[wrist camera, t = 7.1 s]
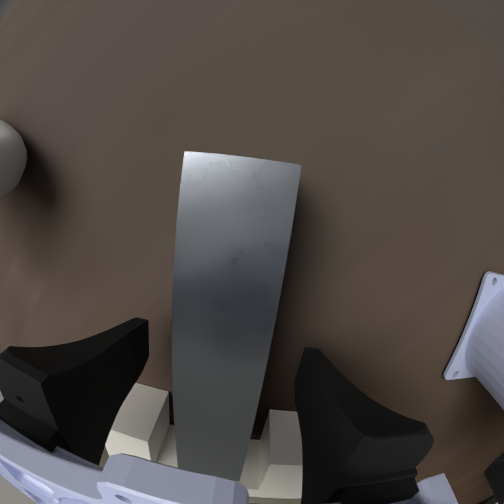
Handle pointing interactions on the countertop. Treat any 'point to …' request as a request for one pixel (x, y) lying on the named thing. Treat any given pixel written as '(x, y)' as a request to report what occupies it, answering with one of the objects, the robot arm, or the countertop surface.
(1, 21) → the countertop surface
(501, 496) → the travel mug
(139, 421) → the cream u-shaped cradle
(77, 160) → the countertop surface
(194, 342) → the rail
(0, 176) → the donut
